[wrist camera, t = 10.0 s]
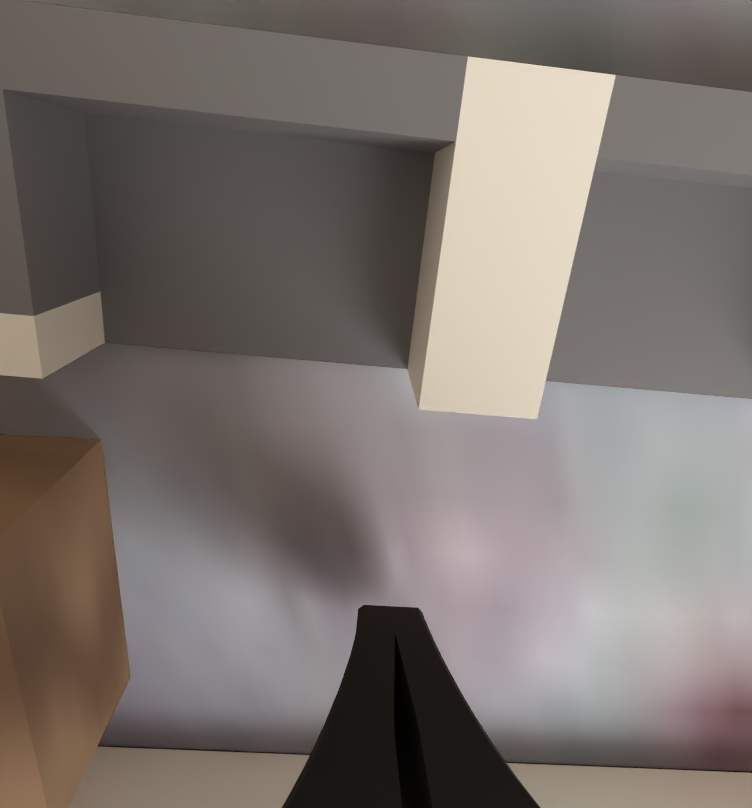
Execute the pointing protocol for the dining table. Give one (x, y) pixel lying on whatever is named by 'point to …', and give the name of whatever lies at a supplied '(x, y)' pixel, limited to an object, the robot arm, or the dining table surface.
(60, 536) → the walnut block
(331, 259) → the trap lane
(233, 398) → the dining table surface
